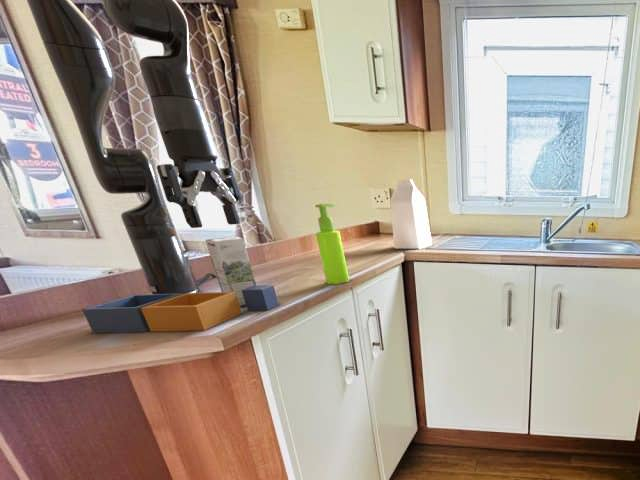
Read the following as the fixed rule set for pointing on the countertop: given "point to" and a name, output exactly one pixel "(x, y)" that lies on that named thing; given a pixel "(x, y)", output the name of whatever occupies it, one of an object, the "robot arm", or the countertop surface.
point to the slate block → (260, 297)
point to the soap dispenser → (331, 249)
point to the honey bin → (192, 311)
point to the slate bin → (123, 313)
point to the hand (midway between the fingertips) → (216, 225)
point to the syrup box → (231, 265)
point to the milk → (409, 217)
